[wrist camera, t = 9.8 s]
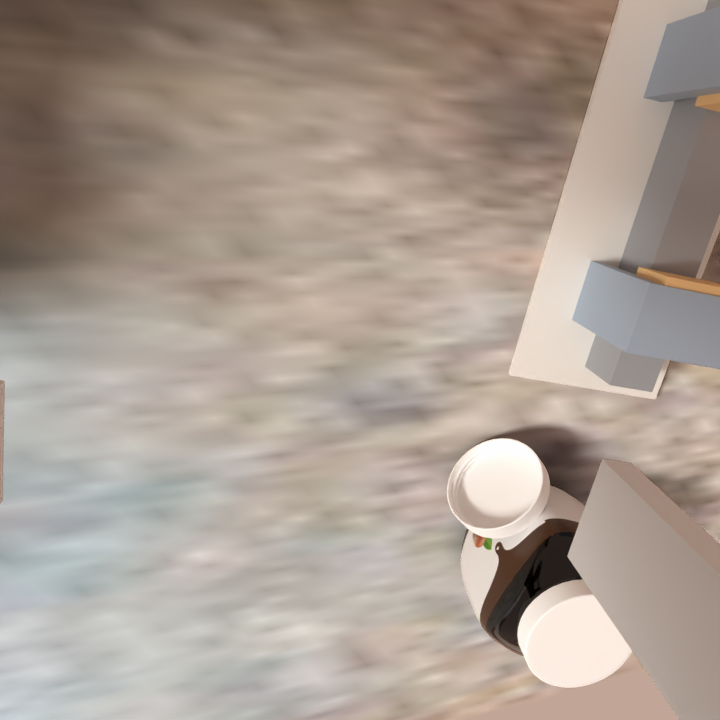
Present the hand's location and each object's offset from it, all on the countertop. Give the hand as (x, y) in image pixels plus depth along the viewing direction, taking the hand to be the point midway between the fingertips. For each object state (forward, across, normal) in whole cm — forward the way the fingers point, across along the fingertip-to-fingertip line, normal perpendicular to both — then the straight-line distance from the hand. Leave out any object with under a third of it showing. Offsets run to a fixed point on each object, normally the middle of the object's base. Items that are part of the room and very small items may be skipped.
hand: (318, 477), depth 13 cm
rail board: (+26, +21, +8) cm, 35 cm away
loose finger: (+25, +22, +2) cm, 34 cm away
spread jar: (+26, +18, -16) cm, 35 cm away
